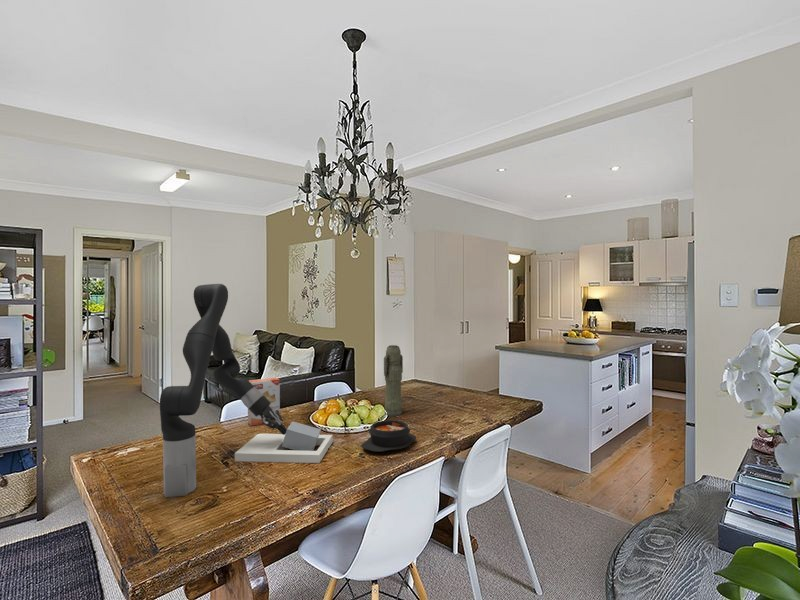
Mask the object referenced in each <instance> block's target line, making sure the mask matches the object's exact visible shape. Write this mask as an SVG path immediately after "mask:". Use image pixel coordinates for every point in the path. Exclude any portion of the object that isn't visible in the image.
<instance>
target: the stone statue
mask: <svg viewBox="0 0 800 600" xmlns="http://www.w3.org/2000/svg"><path fill="white" fill-rule="evenodd" d="M401 353H402V352H401V348H400V346H399V345H397V344H395V345H393V344H392V345H388V346H387V347H386V350H385V355H384V357H383V376H384V381H385V400H384V409H385V410H386V412H387V414H388V415H387V416H390V417H394V416H395V417H397V416H401V415H402V413H403V412H402V410H403V399H402V380H403V372H404V371H403V369H404V367H403V365H404V364H403V360H404V359H403V355H402V354H401Z"/></svg>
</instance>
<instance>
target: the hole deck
mask: <svg viewBox="0 0 800 600" xmlns="http://www.w3.org/2000/svg"><path fill="white" fill-rule="evenodd" d="M284 437H285V435H283V434H282V433H257V434H256V435H255V436H254V437H252V438H251V439H250V440H249V441H248V442H246V443H245V444H244V445H243V446H242V447H240V448H239V449H237V450H236V451H235V452H234V462H251V463H252V462H255V463H259V462H260V463H293V464H294V463H295V464H296V463H297V464H298V463H300V464H302V463H303V464H304V463H307V464H320V463H321V461H322V459H324V457H325V454H326V453H327V452H328V450H329V449H330V447H331V445H332V444H333V441H334V439H333V438H334V437H333V434H319V437H318V440H317V444H316V446H319V447H318V448H317V450H314V451H298V450H292V449H289V450H288V449H285V447H282V444H283V440H284ZM328 448H329V449H328Z"/></svg>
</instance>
